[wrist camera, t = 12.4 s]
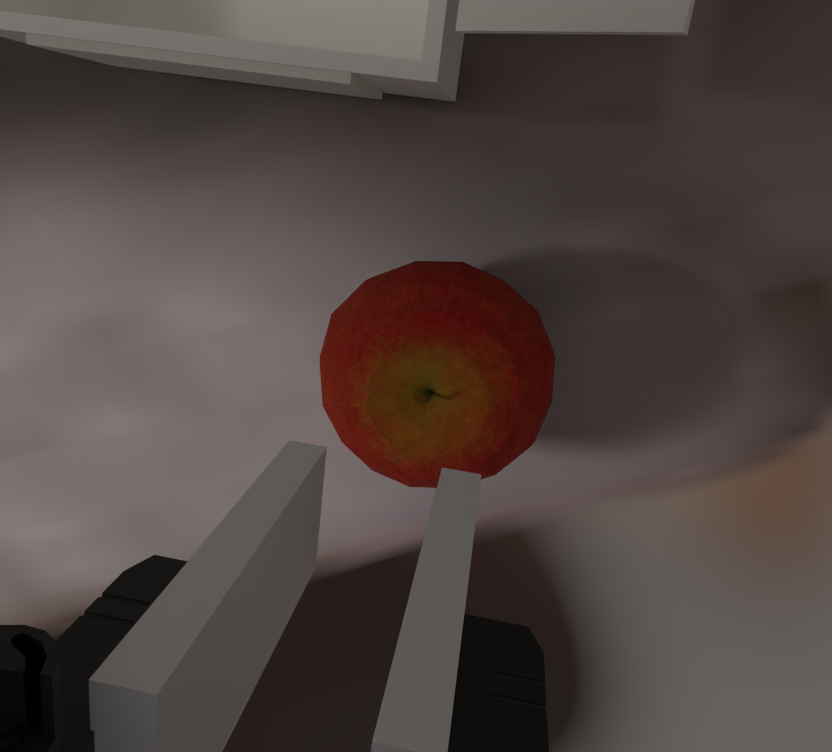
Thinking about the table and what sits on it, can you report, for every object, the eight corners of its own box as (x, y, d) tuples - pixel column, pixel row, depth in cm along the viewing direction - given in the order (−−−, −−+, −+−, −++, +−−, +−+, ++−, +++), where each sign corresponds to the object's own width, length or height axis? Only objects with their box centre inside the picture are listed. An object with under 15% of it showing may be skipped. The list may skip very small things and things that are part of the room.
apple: (321, 291, 27) (249, 337, 20) (504, 212, 25) (498, 231, 18) (399, 457, 29) (358, 556, 22) (575, 394, 27) (597, 480, 20)
